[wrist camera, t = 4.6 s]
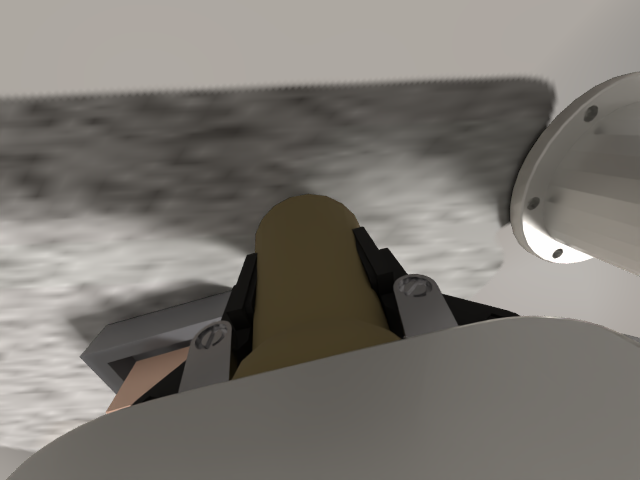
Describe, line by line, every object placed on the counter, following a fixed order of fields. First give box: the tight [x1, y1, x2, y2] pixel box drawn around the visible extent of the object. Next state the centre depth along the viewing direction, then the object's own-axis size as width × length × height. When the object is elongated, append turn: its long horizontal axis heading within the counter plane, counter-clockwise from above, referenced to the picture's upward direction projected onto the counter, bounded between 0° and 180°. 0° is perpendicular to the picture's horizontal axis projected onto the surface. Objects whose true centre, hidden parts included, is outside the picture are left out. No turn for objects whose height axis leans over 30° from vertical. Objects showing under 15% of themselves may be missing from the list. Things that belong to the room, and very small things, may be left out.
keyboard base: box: [80, 291, 231, 394], centre depth 20 cm, size 9×19×2 cm, turn 13°
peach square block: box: [106, 346, 190, 414], centre depth 15 cm, size 4×4×3 cm
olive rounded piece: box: [232, 194, 401, 380], centre depth 9 cm, size 6×6×11 cm
